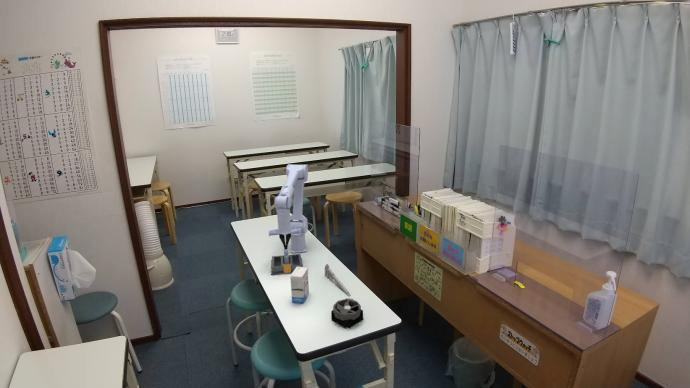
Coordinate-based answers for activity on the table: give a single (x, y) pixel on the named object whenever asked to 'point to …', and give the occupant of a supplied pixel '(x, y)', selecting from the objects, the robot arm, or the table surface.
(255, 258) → the table surface
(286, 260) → the panel
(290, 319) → the table surface
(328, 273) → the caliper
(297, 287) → the ink box
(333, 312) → the cpu cooler
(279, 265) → the panel rack
